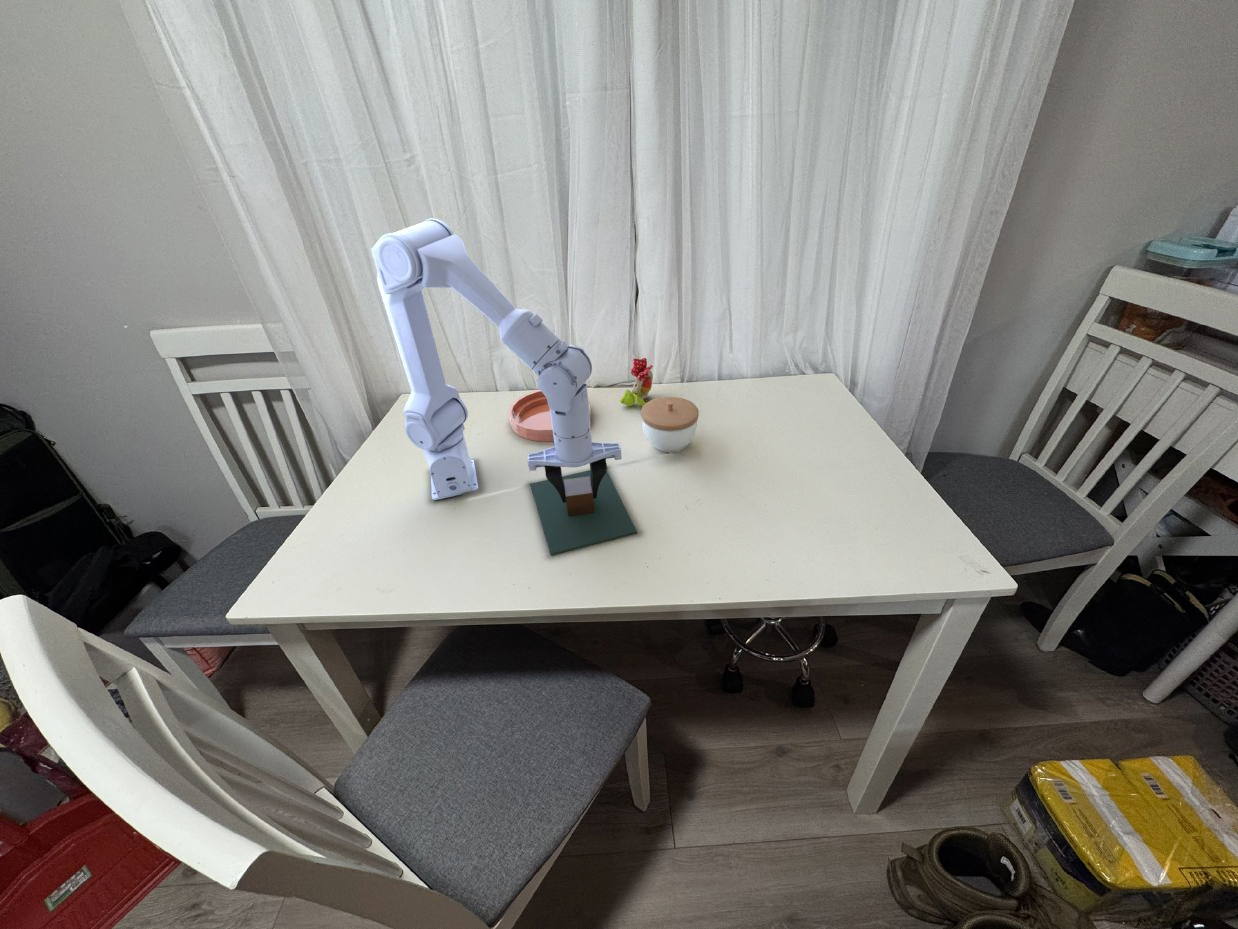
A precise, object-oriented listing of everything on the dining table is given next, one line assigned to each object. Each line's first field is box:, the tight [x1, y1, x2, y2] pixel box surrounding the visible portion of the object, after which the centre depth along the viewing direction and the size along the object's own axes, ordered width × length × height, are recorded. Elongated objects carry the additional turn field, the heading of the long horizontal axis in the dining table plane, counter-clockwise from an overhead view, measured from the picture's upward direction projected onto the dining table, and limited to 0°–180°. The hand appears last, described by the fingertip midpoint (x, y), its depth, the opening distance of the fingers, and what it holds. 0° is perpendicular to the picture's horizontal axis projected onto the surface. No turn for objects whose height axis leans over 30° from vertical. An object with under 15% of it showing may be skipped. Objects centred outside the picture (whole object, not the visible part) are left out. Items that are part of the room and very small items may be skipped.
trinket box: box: [640, 396, 699, 454], centre depth 98 cm, size 11×11×9 cm
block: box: [564, 476, 595, 516], centre depth 86 cm, size 4×4×4 cm
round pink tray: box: [508, 389, 592, 443], centre depth 109 cm, size 17×17×3 cm
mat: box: [530, 469, 638, 556], centre depth 87 cm, size 18×14×1 cm
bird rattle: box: [619, 357, 654, 408], centre depth 112 cm, size 6×11×9 cm
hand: (579, 496), depth 86 cm, fingers closed on block, 4 cm apart
